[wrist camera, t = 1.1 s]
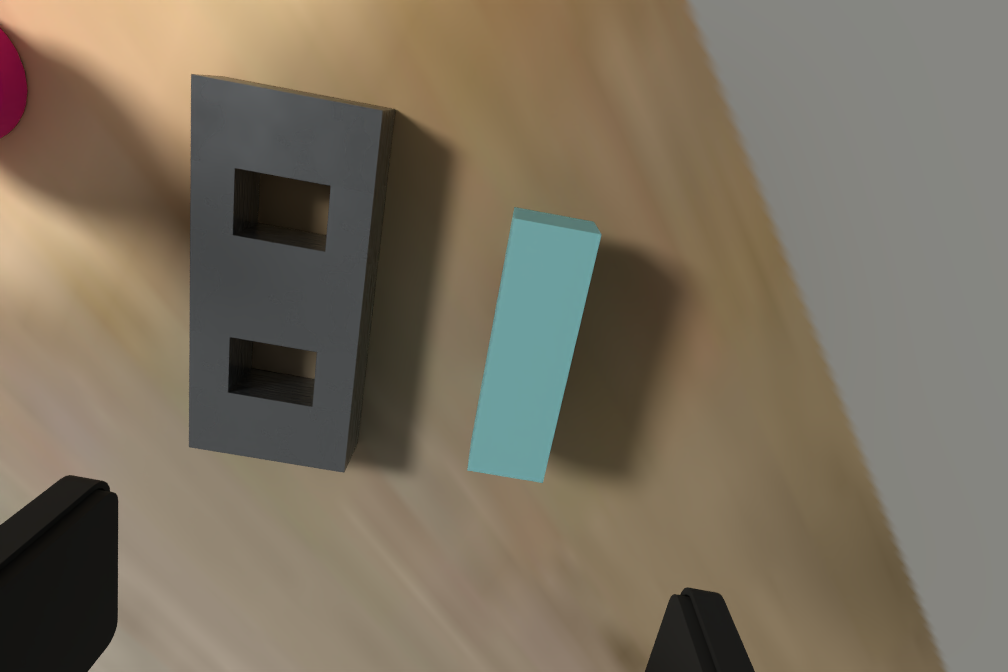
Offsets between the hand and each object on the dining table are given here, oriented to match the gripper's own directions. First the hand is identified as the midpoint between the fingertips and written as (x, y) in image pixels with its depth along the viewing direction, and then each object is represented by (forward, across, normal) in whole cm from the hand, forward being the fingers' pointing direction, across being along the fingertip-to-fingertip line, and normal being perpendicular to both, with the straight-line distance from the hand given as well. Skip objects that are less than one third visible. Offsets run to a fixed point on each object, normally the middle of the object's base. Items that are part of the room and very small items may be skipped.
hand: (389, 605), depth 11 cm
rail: (+23, +9, +2) cm, 25 cm away
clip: (+23, -3, +1) cm, 23 cm away
